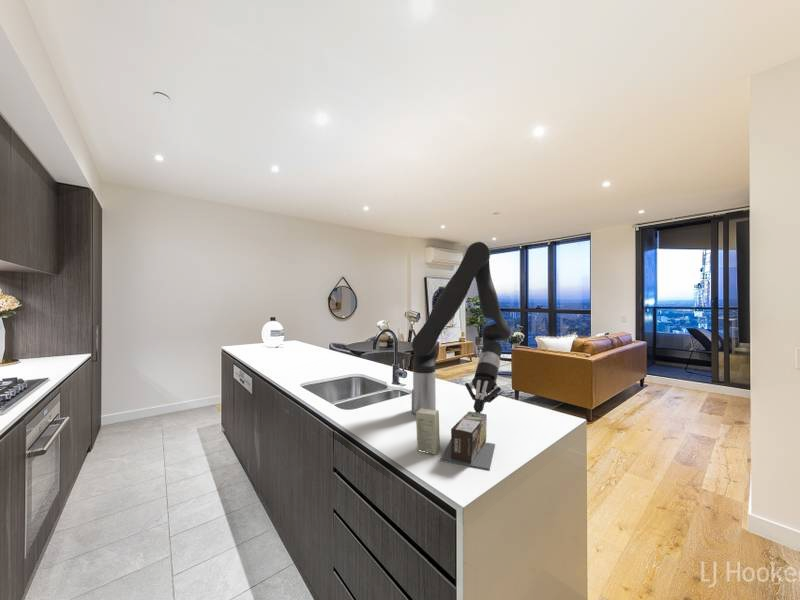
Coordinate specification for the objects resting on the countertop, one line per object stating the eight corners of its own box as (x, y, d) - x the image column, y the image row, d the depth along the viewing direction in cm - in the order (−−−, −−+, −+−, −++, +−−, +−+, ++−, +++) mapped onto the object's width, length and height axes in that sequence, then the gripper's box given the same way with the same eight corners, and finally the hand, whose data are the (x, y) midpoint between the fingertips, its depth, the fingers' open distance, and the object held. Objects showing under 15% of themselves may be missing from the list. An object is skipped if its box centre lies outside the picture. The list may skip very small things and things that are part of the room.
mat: (439, 460, 92) (439, 459, 92) (451, 438, 107) (451, 437, 107) (489, 470, 87) (489, 468, 87) (495, 445, 102) (495, 443, 102)
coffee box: (467, 410, 106) (450, 427, 92) (487, 414, 103) (472, 431, 89) (467, 438, 106) (450, 458, 92) (487, 442, 103) (472, 464, 89)
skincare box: (440, 449, 99) (440, 410, 99) (435, 455, 95) (435, 414, 95) (421, 445, 102) (420, 407, 102) (415, 451, 98) (415, 411, 98)
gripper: (467, 359, 116) (455, 402, 105) (504, 363, 109) (495, 409, 99) (472, 371, 120) (461, 413, 110) (508, 375, 113) (500, 420, 103)
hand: (477, 411), depth 104 cm, fingers closed
